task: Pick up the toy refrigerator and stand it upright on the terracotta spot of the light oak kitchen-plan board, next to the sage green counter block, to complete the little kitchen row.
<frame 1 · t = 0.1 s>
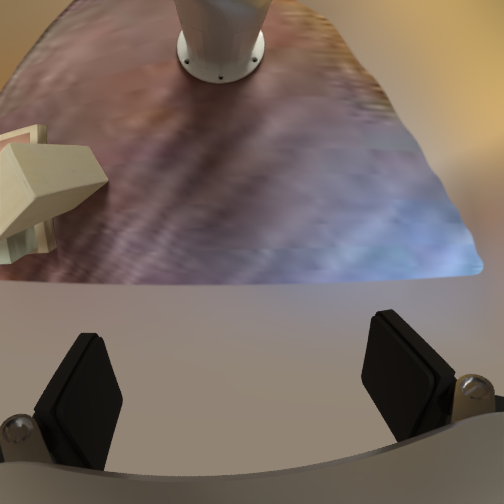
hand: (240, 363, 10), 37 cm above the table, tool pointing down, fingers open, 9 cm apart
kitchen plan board: (17, 192, 40), on the table
toy refrigerator: (80, 175, 41), on the table
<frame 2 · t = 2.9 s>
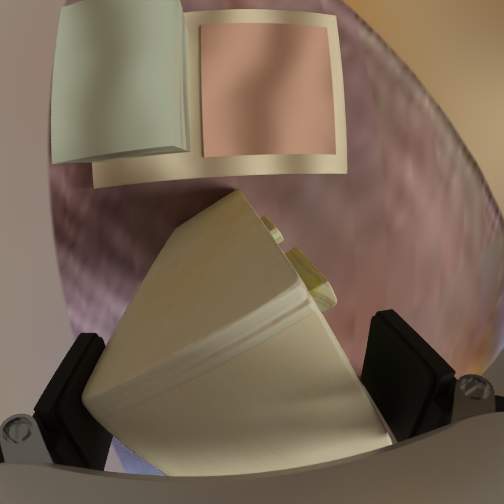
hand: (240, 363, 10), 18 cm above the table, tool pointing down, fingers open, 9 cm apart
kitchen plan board: (216, 94, 24), on the table
toy refrigerator: (234, 243, 27), on the table, touching gripper
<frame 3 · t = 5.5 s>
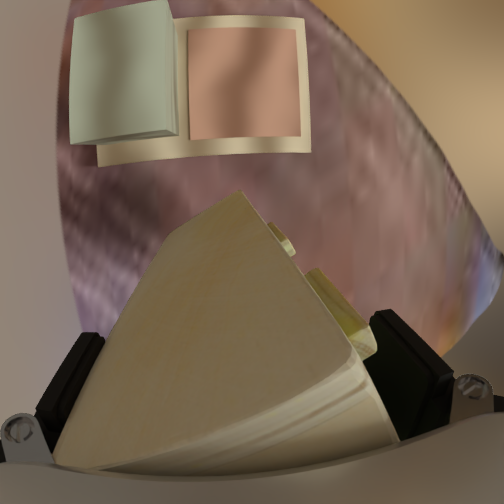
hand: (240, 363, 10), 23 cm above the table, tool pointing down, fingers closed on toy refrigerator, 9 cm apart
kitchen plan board: (201, 87, 27), on the table
toy refrigerator: (235, 249, 25), point 8 cm above the table, touching gripper
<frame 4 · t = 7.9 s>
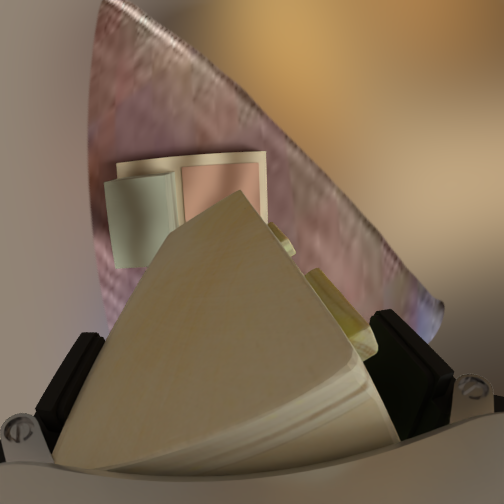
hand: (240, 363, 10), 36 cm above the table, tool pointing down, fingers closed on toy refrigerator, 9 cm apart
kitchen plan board: (193, 204, 44), on the table
toy refrigerator: (235, 249, 25), point 20 cm above the table, touching gripper
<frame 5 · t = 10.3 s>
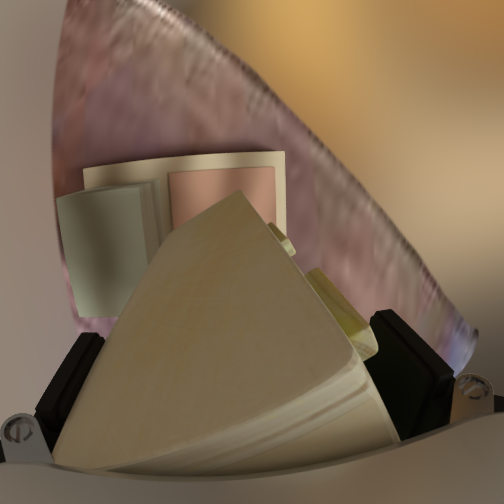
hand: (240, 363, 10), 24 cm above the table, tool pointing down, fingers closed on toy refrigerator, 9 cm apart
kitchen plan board: (186, 222, 33), on the table
toy refrigerator: (235, 249, 25), point 9 cm above the table, touching gripper
when the fingers open (19 cm above the table, at t = 12.6 s): toy refrigerator stays where it is, resting on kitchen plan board.
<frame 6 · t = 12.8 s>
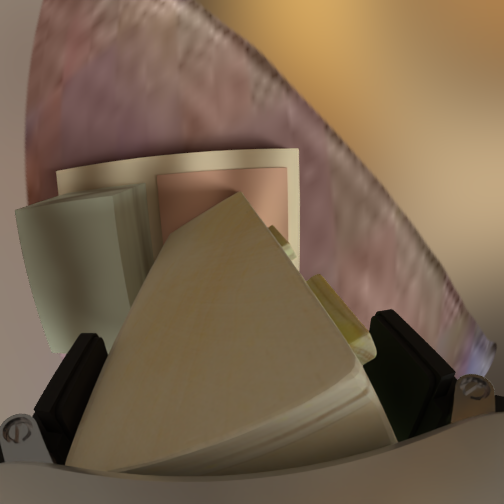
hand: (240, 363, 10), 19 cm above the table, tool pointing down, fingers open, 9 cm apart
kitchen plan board: (180, 234, 27), on the table
toy refrigerator: (235, 250, 25), point 3 cm above the table, touching gripper, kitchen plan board
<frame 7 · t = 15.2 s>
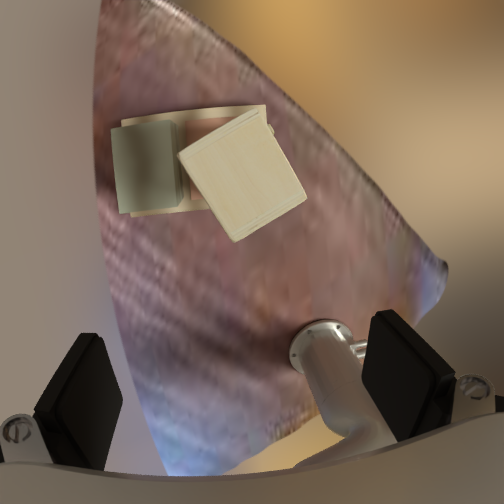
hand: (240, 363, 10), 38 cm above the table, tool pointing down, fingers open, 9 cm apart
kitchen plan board: (196, 159, 43), on the table
toy refrigerator: (230, 163, 41), point 3 cm above the table, touching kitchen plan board
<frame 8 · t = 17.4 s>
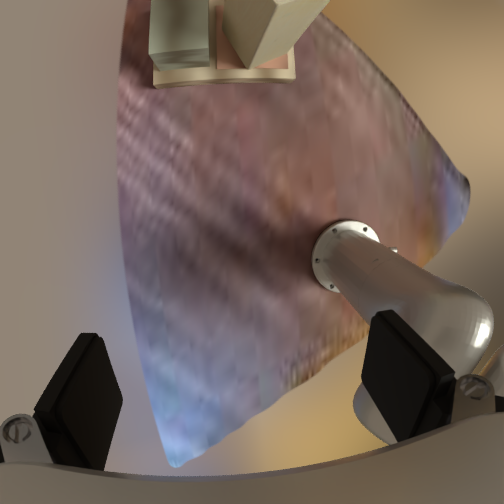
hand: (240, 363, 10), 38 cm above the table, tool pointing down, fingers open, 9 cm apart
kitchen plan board: (223, 42, 39), on the table
toy refrigerator: (257, 40, 37), point 3 cm above the table, touching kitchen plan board
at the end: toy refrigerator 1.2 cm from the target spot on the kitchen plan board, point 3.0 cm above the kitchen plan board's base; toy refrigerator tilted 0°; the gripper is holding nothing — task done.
